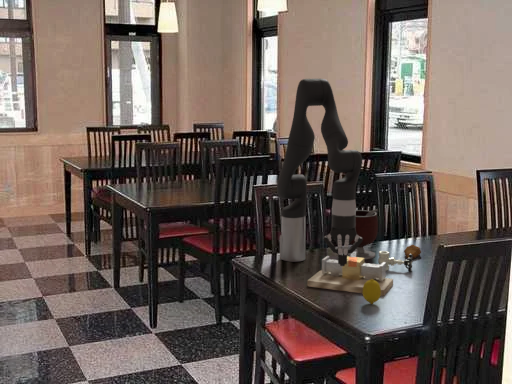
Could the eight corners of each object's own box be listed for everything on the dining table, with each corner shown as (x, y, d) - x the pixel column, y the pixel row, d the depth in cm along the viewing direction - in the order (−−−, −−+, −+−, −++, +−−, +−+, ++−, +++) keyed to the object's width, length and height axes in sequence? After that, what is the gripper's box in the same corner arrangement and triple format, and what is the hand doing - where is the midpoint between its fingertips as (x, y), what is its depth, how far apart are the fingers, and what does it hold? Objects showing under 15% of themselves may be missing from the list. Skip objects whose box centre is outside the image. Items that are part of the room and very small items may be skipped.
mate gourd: (334, 255, 251) (335, 205, 248) (357, 249, 260) (358, 201, 257) (365, 262, 240) (366, 211, 236) (387, 256, 248) (389, 206, 245)
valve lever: (349, 253, 216) (350, 248, 215) (357, 253, 215) (357, 248, 215) (348, 266, 199) (348, 261, 199) (356, 267, 199) (356, 261, 198)
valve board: (307, 286, 212) (307, 280, 212) (320, 275, 224) (320, 270, 223) (383, 296, 201) (383, 290, 201) (393, 284, 213) (393, 278, 213)
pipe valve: (321, 275, 217) (321, 253, 216) (327, 271, 222) (327, 249, 221) (381, 283, 208) (382, 259, 207) (385, 278, 214) (386, 255, 212)
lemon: (360, 301, 197) (360, 276, 195) (377, 300, 197) (378, 276, 196) (364, 307, 191) (365, 282, 190) (382, 306, 192) (383, 281, 190)
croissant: (418, 262, 241) (418, 249, 240) (400, 260, 244) (400, 247, 243) (424, 253, 253) (424, 241, 252) (407, 252, 256) (407, 240, 255)
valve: (376, 271, 229) (410, 274, 225) (377, 254, 227) (410, 256, 224) (379, 266, 235) (412, 269, 231) (379, 249, 234) (412, 252, 230)
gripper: (322, 214, 196) (321, 268, 199) (365, 215, 195) (363, 269, 198) (322, 209, 204) (321, 261, 207) (364, 210, 202) (362, 262, 205)
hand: (342, 265), depth 202 cm, fingers closed
